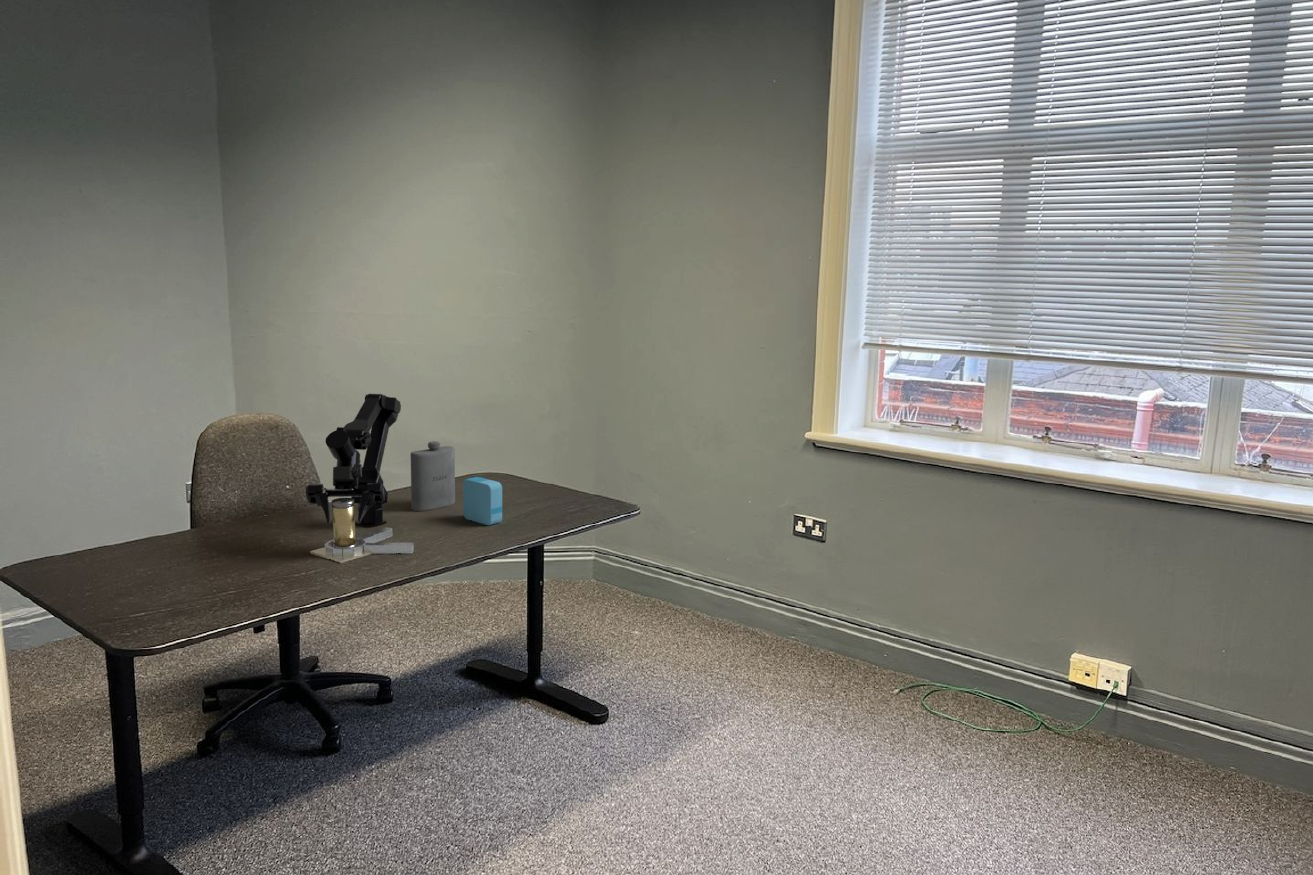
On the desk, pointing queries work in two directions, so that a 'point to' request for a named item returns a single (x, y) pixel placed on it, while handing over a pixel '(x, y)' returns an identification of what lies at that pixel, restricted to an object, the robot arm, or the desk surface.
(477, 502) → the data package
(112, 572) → the desk surface
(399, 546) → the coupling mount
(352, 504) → the glass jar
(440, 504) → the flask
